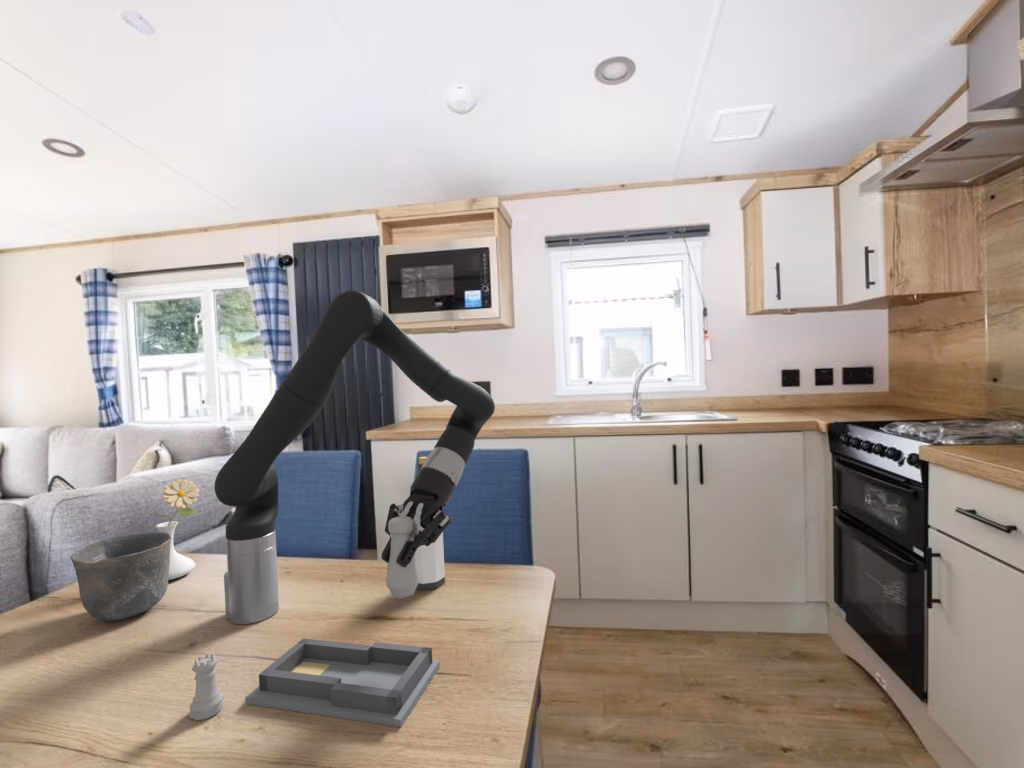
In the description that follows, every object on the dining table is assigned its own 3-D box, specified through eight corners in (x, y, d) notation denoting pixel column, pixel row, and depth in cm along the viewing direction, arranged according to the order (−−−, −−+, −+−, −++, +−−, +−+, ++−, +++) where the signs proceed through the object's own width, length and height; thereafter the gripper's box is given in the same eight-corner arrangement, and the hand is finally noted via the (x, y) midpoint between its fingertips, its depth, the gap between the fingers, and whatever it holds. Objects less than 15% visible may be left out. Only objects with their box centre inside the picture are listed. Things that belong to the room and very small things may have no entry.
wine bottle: (417, 575, 118) (412, 454, 117) (449, 576, 117) (444, 454, 116) (406, 590, 110) (400, 460, 109) (440, 591, 109) (434, 460, 108)
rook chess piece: (200, 702, 73) (197, 651, 73) (230, 700, 74) (227, 648, 74) (182, 723, 69) (179, 668, 69) (214, 720, 69) (212, 666, 69)
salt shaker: (412, 601, 79) (409, 523, 79) (380, 599, 80) (377, 523, 80) (425, 585, 85) (422, 513, 85) (395, 584, 86) (392, 512, 86)
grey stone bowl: (53, 625, 100) (49, 554, 100) (144, 589, 116) (141, 528, 116) (104, 640, 93) (100, 564, 93) (193, 599, 109) (190, 535, 109)
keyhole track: (439, 666, 80) (439, 646, 80) (401, 726, 66) (400, 702, 66) (305, 651, 86) (305, 632, 86) (245, 703, 73) (244, 681, 73)
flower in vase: (137, 590, 116) (131, 488, 116) (147, 574, 126) (142, 480, 126) (200, 578, 122) (195, 480, 122) (205, 563, 132) (201, 473, 132)
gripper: (401, 462, 92) (352, 545, 82) (457, 468, 85) (411, 560, 75) (421, 484, 97) (377, 565, 87) (477, 491, 89) (435, 581, 79)
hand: (393, 562), depth 81 cm, fingers closed on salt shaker, 3 cm apart
